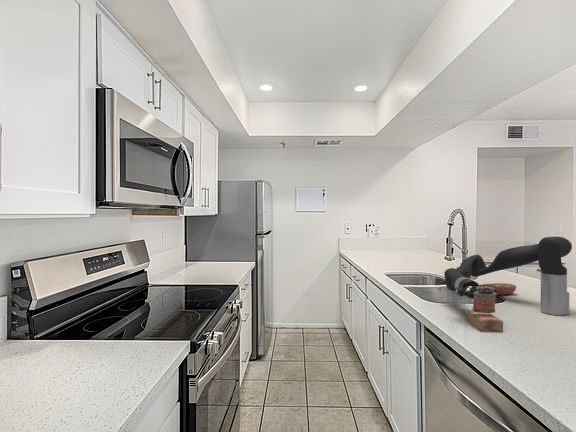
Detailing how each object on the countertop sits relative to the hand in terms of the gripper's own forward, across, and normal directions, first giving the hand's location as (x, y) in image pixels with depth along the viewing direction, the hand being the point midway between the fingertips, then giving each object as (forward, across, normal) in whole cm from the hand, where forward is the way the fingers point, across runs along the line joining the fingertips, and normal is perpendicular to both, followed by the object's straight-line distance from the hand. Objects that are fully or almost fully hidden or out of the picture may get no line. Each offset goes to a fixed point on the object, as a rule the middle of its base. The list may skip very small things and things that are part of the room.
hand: (484, 296), depth 138 cm
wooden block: (-1, 0, -12) cm, 12 cm away
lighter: (-1, 0, -6) cm, 6 cm away
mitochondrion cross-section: (-54, -29, -12) cm, 62 cm away
